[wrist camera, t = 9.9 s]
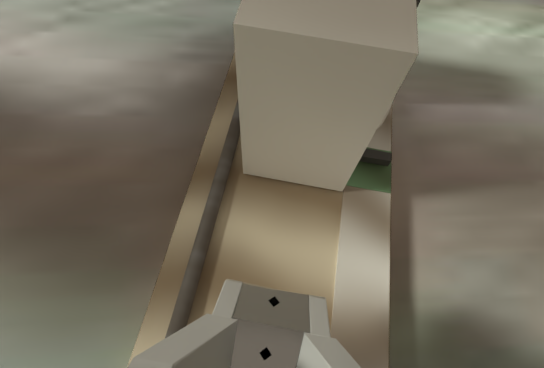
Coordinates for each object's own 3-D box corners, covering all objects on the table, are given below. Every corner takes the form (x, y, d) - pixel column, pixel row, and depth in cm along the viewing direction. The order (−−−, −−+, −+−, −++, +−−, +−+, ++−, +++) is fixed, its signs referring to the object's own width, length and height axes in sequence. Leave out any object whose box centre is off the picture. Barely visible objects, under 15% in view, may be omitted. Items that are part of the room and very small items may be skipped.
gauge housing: (385, 199, 19) (501, 67, 10) (243, 173, 19) (232, 23, 10) (387, 108, 22) (476, -53, 13) (265, 87, 22) (271, -83, 14)
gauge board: (374, 501, 14) (395, 528, 12) (112, 443, 15) (89, 458, 13) (385, 77, 26) (396, 53, 24) (240, 52, 27) (239, 28, 24)
